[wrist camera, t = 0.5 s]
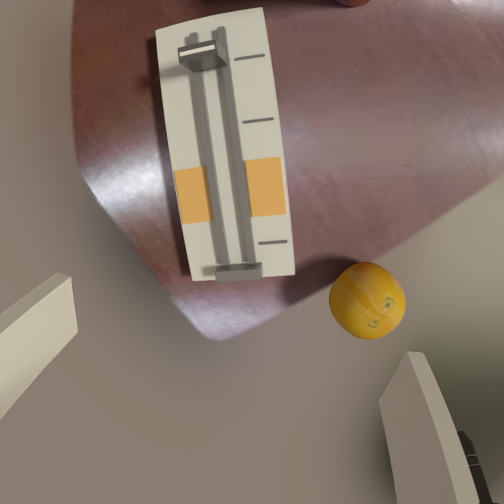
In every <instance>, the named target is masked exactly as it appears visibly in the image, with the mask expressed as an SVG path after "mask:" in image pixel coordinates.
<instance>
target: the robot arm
mask: <svg viewBox="0 0 504 504" xmlns="http://www.w3.org/2000/svg"><path fill="white" fill-rule="evenodd" d="M77 332H78V328H77V322H76V316H75V308H74V301H73V292H72V283H71V277H70V276H67V275H64V274H61V273H58V272H57V273H55V274H54V275H53V276H51V277H50V278H48V279H47V280H46V281H44V282H43V283H42V284H40V285H39V286H37V287H36V288H35V289H33V290H32V291H30V292H29V293H28V294H26V295H25V296H24V297H23V298H21V299H20V300H18V301H17V302H16V303H15V304H13V305H12V306H11V307H9V308H8V309H7V310H6V311H4V312H3V313H2V314H0V419H1V418H2V417H3V415H4V414H5V413H6V412H7V411H8V410H9V408H10V407H11V406H12V405H13V404H14V402H15V401H16V400H17V399H18V397H20V395H21V394H22V393H23V392H24V391H25V389H26V388H27V387H28V386H29V385H30V384H31V383H32V381H33V380H34V379H35V378H36V377H37V376H38V375H39V374H40V373H41V371H42V370H43V369H44V368H45V367H46V366H47V365H48V363H50V361H51V360H52V359H53V358H54V357H55V356H56V355H57V354H58V353H59V352H60V351H61V349H62V348H63V347H64V346H65V345H66V344H67V343H68V342H69V341H70V340H71V339H72V338H73V337H74V336H75V334H77ZM379 405H380V410H381V414H382V419H383V423H384V429H385V433H386V438H387V444H388V449H389V454H390V459H391V465H392V471H393V477H394V483H395V489H396V496H397V503H398V504H498V503H493V502H492V500H491V497H490V494H489V491H488V487H487V484H486V481H485V478H484V475H483V472H482V469H481V466H479V461H478V458H477V456H475V455H476V452H475V450H474V447H473V444H472V442H471V440H470V439H469V438H468V437H467V436H466V434H465V433H464V432H463V431H457V432H456V429H455V426H454V424H453V421H452V419H451V416H450V414H449V411H448V409H447V406H446V404H445V401H444V399H443V396H442V394H441V392H440V389H439V387H438V385H437V382H436V380H435V378H434V376H433V373H432V371H431V369H430V367H429V364H428V362H427V360H426V358H425V356H424V354H423V353H418V352H409V351H407V352H406V354H405V356H404V357H403V359H402V361H401V363H400V365H399V367H398V369H397V370H396V372H395V374H394V376H393V378H392V379H391V381H390V383H389V385H388V386H387V388H386V390H385V391H384V393H383V395H382V396H381V398H380V400H379Z"/></svg>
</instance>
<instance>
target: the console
mask: <svg viewBox="0 0 504 504" xmlns="http://www.w3.org/2000/svg"><path fill="white" fill-rule="evenodd" d="M214 39H216V40H217V41H218V42H219V43H220V45H221V46H222V47H223V48H224V49H225V51H226V54H227V61H228V65H227V66H221V67H218V68H214V69H209V70H207V69H206V70H201V71H196V72H193V71H191V70H190V69H188V68H186V67H185V66H183V65H181V64H180V63H179V59H178V49H177V48H179V47H183V46H187V45H191V44H195V43H200V42H204V41H209V40H214ZM156 42H157V53H158V64H159V73H160V83H161V92H162V100H163V108H164V116H165V124H166V131H167V138H168V145H169V152H170V159H171V166H172V172H173V178H174V184H175V190H176V196H177V202H178V208H179V214H180V219H181V225H182V230H183V235H184V241H185V246H186V251H187V256H188V261H189V266H190V271H191V275H192V280H193V281H202V280H216V282H227V281H245V280H261V279H262V277H270V276H285V275H295V261H294V249H293V238H292V227H291V217H290V207H289V197H288V188H287V178H286V169H285V160H284V152H283V144H282V135H281V127H280V119H279V112H278V104H277V97H276V90H275V82H274V75H273V69H272V62H271V55H270V49H269V42H268V36H267V30H266V24H265V18H264V13H263V9H262V7H259V8H252V9H246V10H239V11H234V12H228V13H223V14H218V15H213V16H208V17H204V18H199V19H195V20H191V21H187V22H183V23H180V24H176V25H172V26H169V27H165V28H162V29H159V30H156Z"/></svg>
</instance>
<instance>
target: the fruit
mask: <svg viewBox="0 0 504 504" xmlns="http://www.w3.org/2000/svg"><path fill="white" fill-rule="evenodd" d="M329 304H330V308H331V311H332V314H333V316H334V317H335V319H336V320H337V322H338V323H339V324H340V325H341V327H342V328H344V329H345V330H346V331H347V332H348V333H350V334H351V335H353V336H355V337H358V338H361V339H366V340H373V339H378V338H381V337H383V336H385V335H386V334H388V333H389V332H390V331H392V330H393V329H394V328H395V326H397V325H398V324H399V322H400V321H401V319H402V318H403V315H404V312H405V307H406V300H405V295H404V292H403V290H402V287H401V286H400V284H399V283H398V281H397V280H396V279H395V277H393V275H392V274H391V273H390V272H388V271H387V270H386V269H384V268H383V267H381V266H379V265H377V264H375V263H371V262H360V263H357V264H354V265H352V266H350V267H349V268H347V269H346V270H345V271H344V272H343V273H342V274H341V275H340V276H339V277H338V279H337V280H336V281H335V283H334V284H333V286H332V288H331V291H330V295H329Z"/></svg>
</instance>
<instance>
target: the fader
mask: <svg viewBox="0 0 504 504" xmlns="http://www.w3.org/2000/svg"><path fill="white" fill-rule="evenodd" d="M177 49H178V59H179V63H180V64H181V65H183V66H185V67H186V68H188V69H190V70H191V71H193V72H196V71H201V70H206V69H207V70H209V69H214V68H218V67H221V66H227V65H228V61H227V54H226V51H225V49H224V48H223V47H222V46H221V45H220V43H219V42H218V41H217V40H216V39H214V40H209V41H204V42H200V43H195V44H191V45H187V46H183V47H179V48H177Z"/></svg>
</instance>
